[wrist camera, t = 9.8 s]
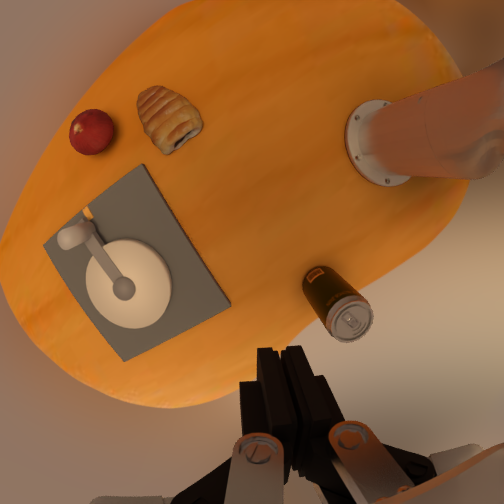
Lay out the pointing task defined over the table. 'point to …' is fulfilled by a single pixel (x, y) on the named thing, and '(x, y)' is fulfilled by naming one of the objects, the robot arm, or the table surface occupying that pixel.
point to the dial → (122, 276)
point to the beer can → (337, 304)
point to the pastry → (167, 118)
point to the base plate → (159, 238)
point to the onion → (91, 132)
